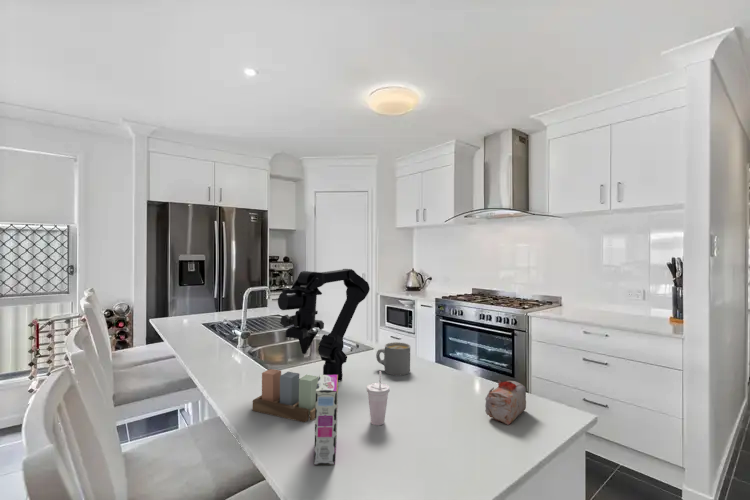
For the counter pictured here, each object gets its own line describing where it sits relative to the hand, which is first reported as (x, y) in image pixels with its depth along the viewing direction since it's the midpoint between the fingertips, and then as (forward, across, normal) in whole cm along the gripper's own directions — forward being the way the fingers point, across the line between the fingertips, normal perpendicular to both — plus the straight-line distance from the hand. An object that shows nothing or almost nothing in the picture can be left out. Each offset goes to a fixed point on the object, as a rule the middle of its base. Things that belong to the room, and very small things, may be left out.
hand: (304, 353), depth 123 cm
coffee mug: (+10, -26, +27) cm, 39 cm away
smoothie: (+11, +17, +31) cm, 36 cm away
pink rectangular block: (+12, +15, -3) cm, 19 cm away
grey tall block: (+12, +16, +4) cm, 20 cm away
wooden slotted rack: (+12, +16, +3) cm, 20 cm away
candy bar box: (+11, +34, +22) cm, 42 cm away
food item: (+8, +3, +66) cm, 66 cm away
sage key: (+11, +17, +10) cm, 22 cm away
